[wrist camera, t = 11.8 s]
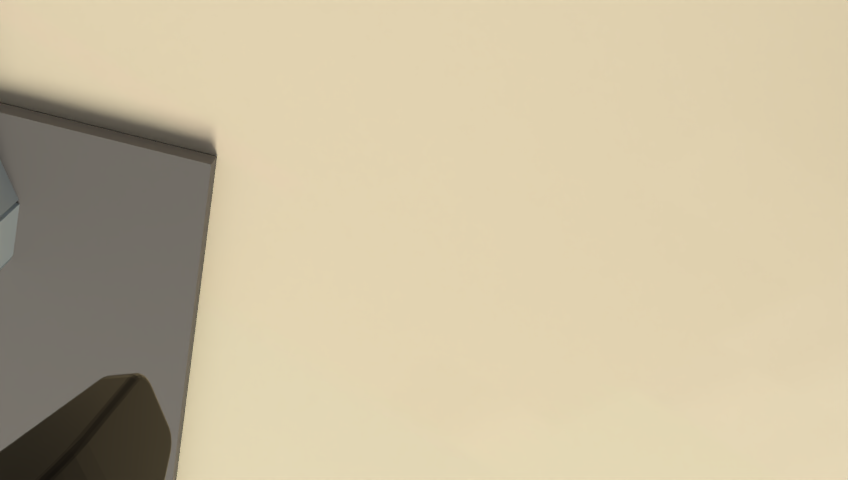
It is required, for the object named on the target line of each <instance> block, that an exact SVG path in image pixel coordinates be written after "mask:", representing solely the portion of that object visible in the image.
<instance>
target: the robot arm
mask: <svg viewBox="0 0 848 480" xmlns="http://www.w3.org/2000/svg"><path fill="white" fill-rule="evenodd" d="M171 445H172V440H171V432H170V428H169V425H168V423H167V421H166V418H165V416H164V414H163V411H162V409H161V407H160V404H159V402H158V400H157V397H156V395H155V393H154V390H153V388H152V386H151V384H150V382H149V380H148V379H147V378H146V377H145V376H144V375H142V374H139V373H130V374H118V375H109V376H105V377H103V378H101V379H100V380H98V381H97V382H95V383H94V384H93V385H91V386H90V387H88V388H87V389H86V390H84V391H83V392H82V393H80V394H79V395H77V396H76V397H75V398H73V399H72V400H71V401H69V402H68V403H66V404H65V405H64V406H62V407H61V408H59V409H58V410H57V411H55V412H54V413H53V414H51V415H50V416H48V417H47V418H46V419H44V420H43V421H41V422H40V423H39V424H37V425H36V426H35V427H33V428H32V429H30V430H29V431H28V432H26V433H25V434H24V435H22V436H21V437H19V438H18V439H17V440H15V441H14V442H12V443H11V444H10V445H8V446H7V447H6V448H4V449H3V450H1V451H0V480H165V477H166V472H167V467H168V463H169V458H170V453H171Z"/></svg>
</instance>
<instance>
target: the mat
mask: <svg viewBox="0 0 848 480" xmlns="http://www.w3.org/2000/svg"><path fill="white" fill-rule="evenodd" d="M216 159H217V156H213V155H209V154H205V153H201V152H197V151H193V150H189V149H185V148H181V147H177V146H172V145H168V144H164V143H160V142H156V141H152V140H148V139H144V138H140V137H136V136H132V135H128V134H124V133H120V132H116V131H112V130H108V129H104V128H100V127H96V126H92V125H88V124H84V123H80V122H76V121H72V120H68V119H64V118H60V117H56V116H52V115H48V114H44V113H39V112H35V111H31V110H27V109H23V108H19V107H15V106H11V105H7V104H3V103H0V160H1V163H2V165H3V167H4V169H5V171H6V173H7V175H8V178H9V180H10V182H11V184H12V186H13V188H14V190H15V192H16V195H17V197H18V199H19V200H18V201H17V202H16V203H18V204H20V205H19V213H18V221H17V228H16V236H15V244H14V252H13V256H12V257H11V259H10V260H9V261H8V262H7V264H6V265H5V266H4V267H3V268H2V269H1V270H0V451H1V450H3V449H4V448H6V447H7V446H8V445H10V444H11V443H12V442H14V441H15V440H17V439H18V438H19V437H21V436H22V435H24V434H25V433H26V432H28V431H29V430H30V429H32V428H33V427H35V426H36V425H37V424H39V423H40V422H41V421H43V420H44V419H46V418H47V417H48V416H50V415H51V414H53V413H54V412H55V411H57V410H58V409H59V408H61V407H62V406H64V405H65V404H66V403H68V402H69V401H71V400H72V399H73V398H75V397H76V396H77V395H79V394H80V393H82V392H83V391H84V390H86V389H87V388H88V387H90V386H91V385H93V384H94V383H95V382H97V381H98V380H100V379H101V378H103V377H105V376H109V375H118V374H130V373H139V374H142V375H144V376H145V377H146V378H147V379H148V380H149V382H150V384H151V386H152V388H153V390H154V393H155V395H156V397H157V400H158V402H159V404H160V407H161V409H162V411H163V414H164V416H165V418H166V421H167V423H168V425H169V428H170V432H171V440H172V445H171V453H170V458H169V463H168V467H167V472H166V477H165V480H176V476H177V469H178V461H179V453H180V445H181V437H182V429H183V421H184V413H185V405H186V397H187V389H188V381H189V373H190V365H191V357H192V349H193V342H194V334H195V326H196V318H197V310H198V302H199V294H200V286H201V278H202V270H203V262H204V254H205V246H206V238H207V230H208V223H209V215H210V207H211V199H212V191H213V183H214V175H215V167H216Z"/></svg>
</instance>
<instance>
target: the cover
mask: <svg viewBox="0 0 848 480" xmlns="http://www.w3.org/2000/svg"><path fill="white" fill-rule="evenodd" d="M18 200H19V199H18V197H17V195H16V192H15V190H14V188H13V186H12V184H11V182H10V180H9V178H8V175H7V173H6V171H5V169H4V167H3V165H2V163H1V160H0V270H1V269H2V268H3V267H4V266H5V265H6V264H7V262H8V261H9V260H10V259H11V257H12V256H13V252H14V244H15V236H16V228H17V221H18V213H19V205H20V204H18V203H16V202H17V201H18Z"/></svg>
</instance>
